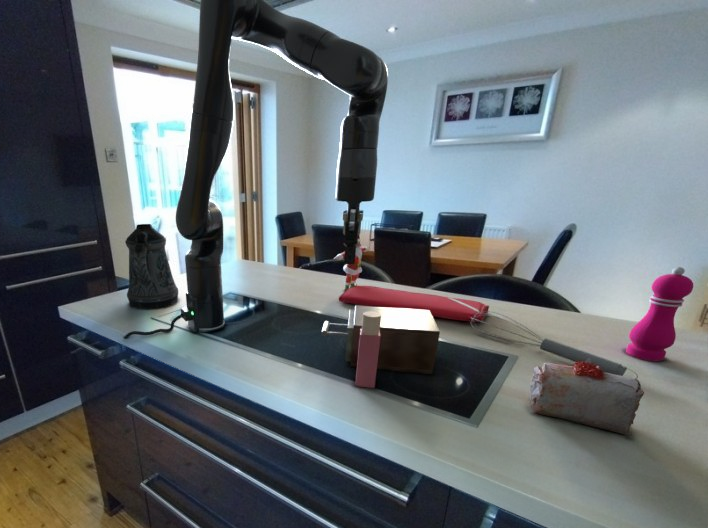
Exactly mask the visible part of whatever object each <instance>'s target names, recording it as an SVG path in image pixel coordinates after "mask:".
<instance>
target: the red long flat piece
mask: <svg viewBox="0 0 708 528" xmlns="http://www.w3.org/2000/svg"><path fill="white" fill-rule="evenodd" d="M349 288H350V287H349ZM338 301H339V302H343V303H347V304H353V305H357V306H371V307H387V308H403V309H419V310H430V312H431V314H432V316H433V317H436V318H441V319H448V320H454V321H461V322H471V323H474V322H475V323H479V324H480V323H482V322H479V321H477V320H480V321H484V319H485V317H486V316H480V315H488V314H489V312H482V311H489V309H490V306H489V305H488V304H484V303H483V302H480V301H477V300H472V299H463V298H455V297H449V296H442V295H437V294H436V295H435V294H429V293H421V292H413V291H407V290H400V289H394V288H393V289H392V288H385V287H378V286H372V285H357V286H355V287H353V288H350V289H348V290H347V291H343V292H342V293H341V295H340V296H339V297H338ZM480 312H481V313H480ZM477 313H479V314H477ZM484 313H486V314H484ZM475 314H477V315H476V316H477V317H476V316H475V318H474V315H475ZM472 318H474V319H477V320H473V322H472V321H471V320H472Z"/></svg>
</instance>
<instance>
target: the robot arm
mask: <svg viewBox="0 0 708 528" xmlns="http://www.w3.org/2000/svg"><path fill="white" fill-rule="evenodd" d="M198 25H199V27H198V52H197V64H196V74H195V84H194V93H193V102H192V107H191V114H190V123H189V131H188V132H189V133H188V143H187V150H186V157H185V163H184V164H185V166H184V173H183V178H182V184H181V188H180V192H179V197H178V201H177V206H176V211H175V224H176V228H177V231H178V233H179V234H180V235H181V236H182V237H183V238H184V239H185V240H187V241H191V245H190V247H189V249H188V251H187V252H186V254H185V256H184V263H185V277H186V287H187V291H186V292H185V300H186V302H185V303H186V306H184V307H180V314H178V315H177V316H175V317H174V318H173V319H172V320H171V323H170V327H169V328H158V329H157V328H156V329H154V330H150V331H139V330H133V331H129V332H128V333H126V334H125V335H124V336H123V339H129V338H130V337H131V336H135V335H138V336H153V335H156V334H159V333H170V332H172V331H173V330H174V328H175V324H176V322H177V321H179V320H180V319H182V320H184V321H185V322H187V323H188V325H187V326H188V327H189V328H190V330H192V331H193V332H194V333H211V332H212V333H213V332H216V331H220V330H222V329H224V328H225V314H224V313H225V311H224V293H223V275H222V273H223V272H222V256H223V253H224V219H223V218H224V217H223V214H222V210H221V207H220V206H219V205H218V204H217V203H216V202H215V201H214V200H211V199H210V198H211V192H212V186H213V183H214V180H215V177H216V175H217V173H218V171H219V169H220V167H221V165H222V163H223V161H224V159H225V158H226V157H225V156H226V154H227V152H228V150H229V147H230V143H231V137H232V133H233V127H234V120H235V102H234V93H233V88H232V82H231V76H230V53H231V47H232V40H239V41H241V42H242V41H243V42H245V43H250V44H255V45H258V46H260V47H263V48H265V49H268V50H270V51H272V52H274V53H276V54H277V55H279V56H280V57H282V58H283V59H284V60H286V61H287V62H288V63H290V64H292V65H294V66H295V67H297V68H299V69H300V70H303V71H305V72H306V73H307V74H310V75H311V76H314V77H316V78H318V79H321V80H325V81H326V82H327V83H329V84H331V86H334V87H335V88H337V89H338V90H340V91H342V92H343V93H345V94H346V95H349V103H348V110H347V111H348V112H347V115H346V116H345V117H344V118H343V120H342V121H341V125H340V139H339V140H340V142H339V152H338V159H337V165H336V166H337V167H336V183H335V200H336V202H345V203H347V209H344V210H343V211H342V221H343V229H342V234H343V235H344V239H343V245H344V244H345V245H344V252H345V257H344V258H343V263H344V265H346V264H354V263H355V254H356V246H357V245H358V240H357V239H358V238H359V236H360V235H361V228H362V221H364V220H363V219H364V210H363V209H361V210H360V205H361V203H363V202H364V203H365V202H372V201H374V199H375V191H376V181H377V171H378V169H377V168H378V145H379V135H380V121H381V117H382V114H383V110H384V105H385V101H386V97H387V91H388V83H389V71H388V68H387V64H386V62H385V61H384V60H383V59H382V58H381V57H380V56H379V55H378V54H377V53H376V52H374V50H371V49H369V48H368V47H365V46H364V45H361V44H359V43H357V42H354V41H351V40H348V39H345V38H342V37H341V36H339V35H337V34H336V33H334V32H332V31H330V30H328V29H326V28H324V27H323V26H320V25H318V24H316V23H314V22H312V21H309V20H306V19H304V18H300V17H297V16H292V15H288V14H285V13H284V12H282V11H279V10H277V9H276V8H274V7H273V6H271V4H269V3H268V2H267V1H266V0H200V3H199V24H198Z"/></svg>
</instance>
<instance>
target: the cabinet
mask: <svg viewBox="0 0 708 528" xmlns="http://www.w3.org/2000/svg"><path fill="white" fill-rule="evenodd" d="M354 310H355V315H354V329H353V341H352V352H351V361H350V363H349V366H350V367H352V368H357V361H358V350H359V339H360V329H362V321H363V313H364V312H369V311H371V312H378V313H380V314H381V321H380V345H379V353H378V362H377V370H381V371H383V370H384V371H393V372H404V373H411V374H412V373H414V374H423V375H433V373H434V367H435V362H436V356H437V352H438V351H437V350H438V345H439V341H440V333H441V331H440V329H439V326H438V325H437V323H436V321H435V318H434V316H432V314H431V312H430V310H419V309H403V308H387V307H371V306H364V305H355V306H354Z"/></svg>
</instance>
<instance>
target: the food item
mask: <svg viewBox="0 0 708 528" xmlns="http://www.w3.org/2000/svg"><path fill="white" fill-rule="evenodd" d="M636 378H637V377H630V376H625V375H623V376H620V375H615V374H611V373H606V372H603V369H602V368H601V367H600V366H597V365H594V363H592V360H591V359H587V360H586V361H582V362H579V361H578V362H574V363H573V366H572V365H566V364H558V363H551V362H546V361H545V362H543V364H542V366H539V365H537V366H534V368H533V375H532V378H531V381H530V384H529V400H530V406H531V408H532V412H533V413H535V414H539V415H543V416H548V417H551V418H553V417H554V418H558V419H563V420H566V421H570V422H575V423H578V424H582V425H586V426H590V427H594V428H597V429H601V430H605V431H610V432H615V433H617V434H621V435H626V436H629V435H630V434H631V431H630V430H631V427H632V425H634V422H635V418H636V416H637V414H636V412H637V411H638V410H639V407H640V405H641V404H640V401H641V399H642V398H643V396H644V394H645V391H643V390H642V385H641V383H640V380H638V378H637V379H636Z"/></svg>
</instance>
